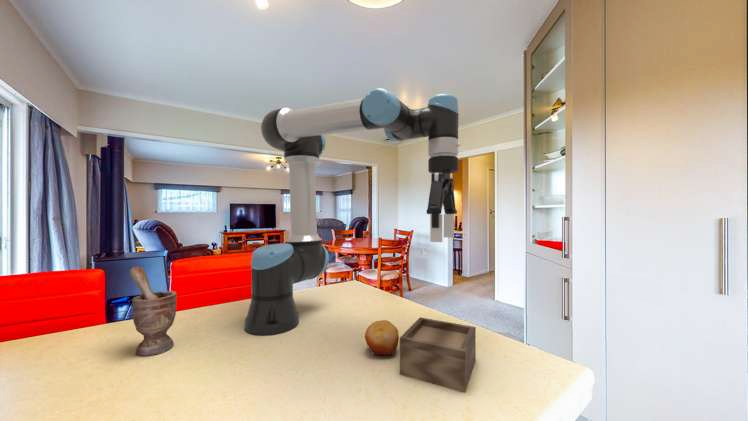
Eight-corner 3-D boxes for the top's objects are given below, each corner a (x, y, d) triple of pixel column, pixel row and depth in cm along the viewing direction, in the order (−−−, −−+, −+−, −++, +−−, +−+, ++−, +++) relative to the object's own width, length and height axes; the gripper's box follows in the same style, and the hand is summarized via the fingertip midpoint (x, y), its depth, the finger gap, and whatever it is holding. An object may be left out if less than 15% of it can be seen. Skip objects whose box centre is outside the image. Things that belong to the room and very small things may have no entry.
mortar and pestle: (108, 359, 66) (108, 270, 66) (136, 342, 74) (137, 264, 74) (161, 357, 66) (162, 270, 67) (183, 340, 75) (184, 263, 75)
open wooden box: (399, 374, 59) (399, 337, 59) (420, 348, 71) (419, 317, 71) (465, 392, 53) (465, 351, 53) (475, 360, 65) (475, 326, 65)
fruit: (399, 336, 74) (398, 315, 70) (398, 365, 68) (398, 344, 64) (368, 334, 75) (366, 313, 71) (364, 364, 68) (362, 342, 64)
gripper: (447, 145, 62) (447, 245, 62) (466, 163, 84) (466, 236, 84) (413, 149, 65) (413, 243, 65) (440, 165, 87) (440, 235, 87)
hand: (443, 239), depth 74 cm, fingers open, 13 cm apart
